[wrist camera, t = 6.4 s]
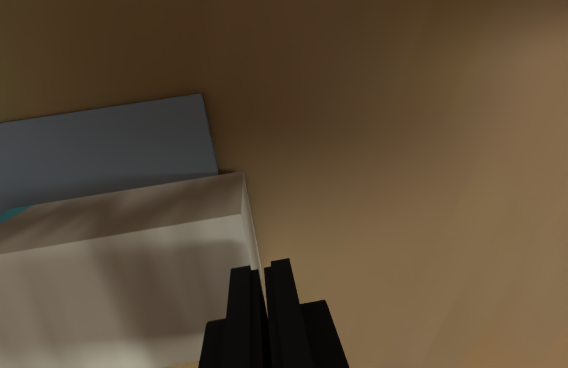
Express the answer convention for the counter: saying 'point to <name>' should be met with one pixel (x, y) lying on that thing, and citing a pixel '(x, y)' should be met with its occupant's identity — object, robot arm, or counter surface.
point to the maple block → (122, 274)
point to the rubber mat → (104, 151)
